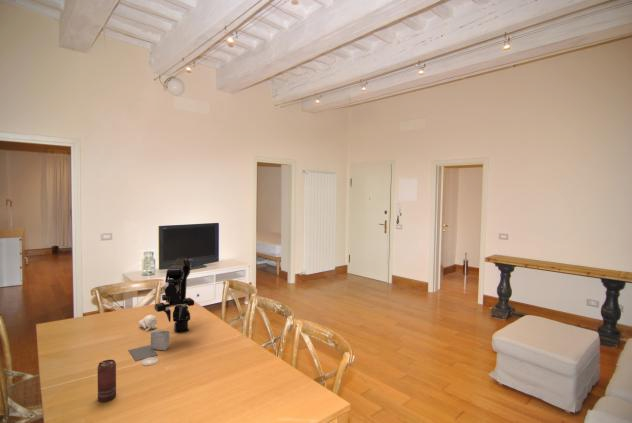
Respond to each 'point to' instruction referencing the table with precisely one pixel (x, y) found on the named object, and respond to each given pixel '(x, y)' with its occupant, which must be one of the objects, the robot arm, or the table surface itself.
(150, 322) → the white animal figurine
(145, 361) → the white glossy disc
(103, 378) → the can
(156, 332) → the medicine box
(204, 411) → the table surface
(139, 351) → the mat
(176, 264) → the robot arm
